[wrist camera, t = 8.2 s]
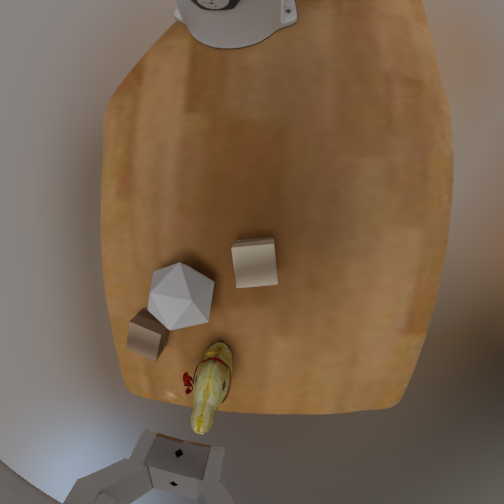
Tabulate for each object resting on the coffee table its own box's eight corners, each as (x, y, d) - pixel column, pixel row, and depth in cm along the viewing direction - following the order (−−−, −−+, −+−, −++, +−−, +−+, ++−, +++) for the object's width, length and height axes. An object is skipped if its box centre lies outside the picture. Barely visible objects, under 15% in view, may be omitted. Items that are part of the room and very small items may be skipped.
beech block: (236, 240, 38) (231, 247, 33) (273, 236, 37) (274, 243, 33) (240, 275, 39) (236, 288, 34) (277, 272, 38) (278, 284, 34)
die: (151, 264, 40) (128, 323, 34) (178, 235, 34) (152, 305, 28) (198, 290, 44) (183, 348, 37) (232, 268, 38) (217, 336, 32)
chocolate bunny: (240, 336, 41) (226, 404, 26) (230, 389, 43) (216, 457, 29) (195, 327, 41) (163, 389, 26) (190, 381, 43) (164, 444, 29)
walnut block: (143, 307, 41) (129, 321, 36) (172, 319, 41) (161, 334, 36) (139, 333, 42) (126, 348, 37) (166, 344, 42) (155, 361, 37)
